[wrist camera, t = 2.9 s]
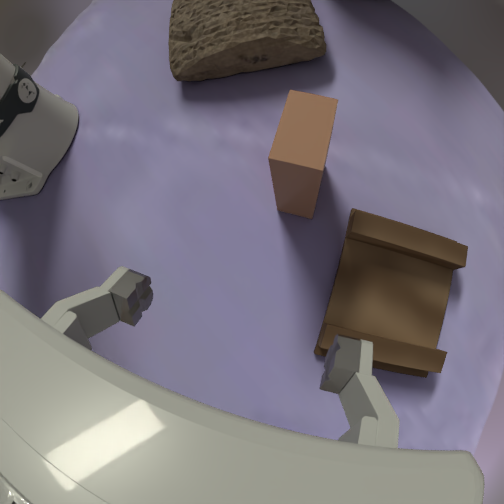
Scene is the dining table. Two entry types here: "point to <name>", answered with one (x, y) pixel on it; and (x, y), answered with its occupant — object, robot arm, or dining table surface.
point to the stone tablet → (241, 36)
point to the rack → (392, 292)
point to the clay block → (301, 151)
